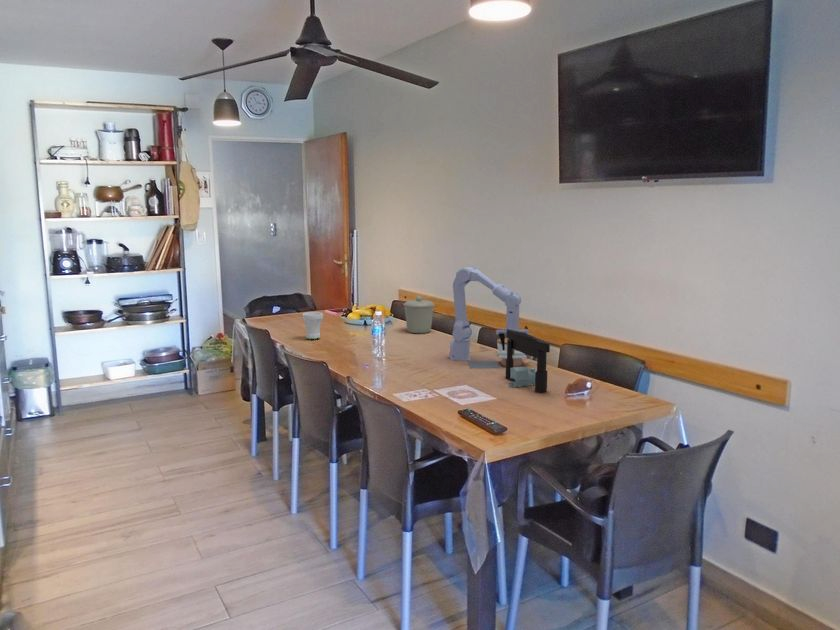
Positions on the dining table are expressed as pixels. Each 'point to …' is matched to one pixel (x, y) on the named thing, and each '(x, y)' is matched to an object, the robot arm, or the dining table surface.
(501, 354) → the lid
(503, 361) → the bowl
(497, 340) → the lidded jar
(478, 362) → the mat
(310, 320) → the cup
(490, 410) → the dining table surface
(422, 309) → the canister
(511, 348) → the black arch frame
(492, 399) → the dining table surface
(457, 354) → the robot arm
